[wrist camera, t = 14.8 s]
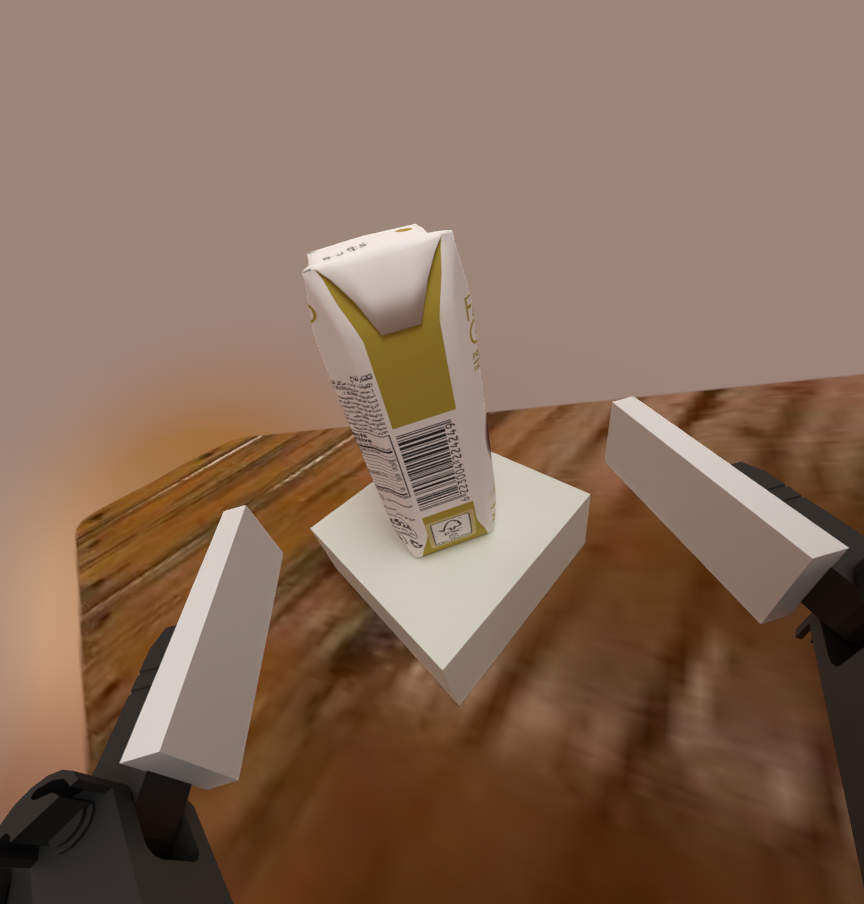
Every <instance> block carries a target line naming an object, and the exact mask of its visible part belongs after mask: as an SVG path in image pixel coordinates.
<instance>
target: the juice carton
mask: <svg viewBox="0 0 864 904" xmlns="http://www.w3.org/2000/svg"><path fill="white" fill-rule="evenodd" d="M307 256H308V262H309V263H308V267H306V268H305V269H304V270H303V271H302V274H303V278H304V282H305V288H306V294H307V301H308V307H309V313H310V320H311V326H312V331H313V334H314V338H315V342H316V345H317V348H318V350H319V352H320V355H321V357H322V360H323V362H324V364H325V367H326V369H327V372H328V374H329V377H330V379H331V381H332V384H333V386H334V388H335V391H336V393H337V396H338V398H339V401H340V403H341V405H342V408H343V410H344V412H345V415H346V417H347V420H348V422H349V424H350V427H351V429H352V431H353V434H354V436H355V439H356V441H357V443H358V446H359V448H360V450H361V453H362V455H363V458H364V460H365V462H366V465H367V467H368V469H369V472H370V474H371V477H372V479H373V481H374V484H375V486H376V488H377V491H378V493H379V496H380V498H381V500H382V503H383V505H384V507H385V510H386V512H387V514H388V517H389V519H390V521H391V524H392V526H393V528H394V530H395V531H396V533H397V534H398V536H399V537H400V538H401V540H402V541H403V542H404V544H405V545H406V546H407V548H408V549H409V550H410V552H411V553H412V554H413V555H414V556H415V557H416V558H418V557H422V556H425V555H428V554H431V553H433V552H436V551H439V550H442V549H445V548H447V547H450V546H453V545H456V544H459V543H461V542H464V541H467V540H470V539H473V538H475V537H478V536H481V535H484V534H487V533H489V532H491V531H493V530H494V526H495V510H496V489H495V481H494V473H493V465H492V457H491V449H490V441H489V433H488V425H487V417H486V410H485V402H484V394H483V386H482V378H481V370H480V363H479V354H478V347H477V339H476V331H475V323H474V316H473V308H472V301H471V295H470V292H469V287H468V283H467V279H466V276H465V273H464V270H463V266H462V263H461V260H460V256H459V254H458V250H457V247H456V244H455V240H454V236H453V231H452V230H444V231H436V232H431V233H427V232H426V231H425V230H424V229H423V228H422V227H420V226H418V225H417V224H413V225H408V226H404V227H400V228H395V229H391V230H387V231H383V232H378V233H374V234H369V235H365V236H361V237H358V238H354V239H352V240H348V241H345V242H342V243H338V244H336V245H332V246H329V247H326V248H322V249H319V250H316V251H312V252H309V253H307Z"/></svg>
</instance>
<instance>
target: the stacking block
mask: <svg viewBox="0 0 864 904" xmlns="http://www.w3.org/2000/svg"><path fill="white" fill-rule="evenodd" d="M491 457H492V465H493V473H494V481H495V489H496V510H495V526H494V530H493V531H491V532H489V533H487V534H484V535H481V536H478V537H475V538H473V539H470V540H467V541H464V542H461V543H459V544H456V545H453V546H450V547H447V548H445V549H442V550H439V551H436V552H433V553H431V554H428V555H425V556H422V557H418V558H416V557H415V556H414V555H413V554H412V553H411V552H410V550H409V549H408V548H407V546H406V545H405V544H404V542H403V541H402V540H401V538H400V537H399V536H398V534H397V533H396V531H395V530H394V528H393V526H392V524H391V521H390V519H389V517H388V514H387V512H386V510H385V507H384V505H383V503H382V500H381V498H380V496H379V493H378V491H377V488H376V486H375V484H374V482H372V483H371V484H370V485H368V486H367V487H365V488H364V489H363V490H361V491H360V492H359V493H357V494H356V495H355V496H353V497H352V498H351V499H349V500H348V501H347V502H345V503H344V504H342V505H341V506H340V507H338V508H337V509H336V510H334V511H333V512H332V513H330V514H329V515H328V516H326V517H325V518H324V519H322V520H321V521H319V522H318V523H317V524H315V525H314V526H313V527H311V528H310V529H311V530H312V532H313V533H314V535H315V536H316V538H317V539H318V541H319V543H320V544H321V546H322V547H323V549H324V550H325V552H326V553H327V555H328V556H329V558H330V560H331V561H332V563H333V564H334V566H335V567H336V569H337V570H338V571H339V572H340V573H341V574H342V575H343V577H344V578H345V579H346V580H347V581H348V582H349V583H350V584H351V586H352V587H353V588H354V589H355V590H356V591H357V592H358V593H359V595H360V596H361V597H362V598H363V599H364V600H365V601H366V602H367V603H368V605H369V606H370V607H371V608H372V609H373V610H374V611H375V612H376V614H377V615H378V616H379V617H380V618H381V619H382V620H383V621H384V623H385V624H386V625H387V626H388V627H389V628H390V629H391V630H392V631H393V633H394V634H395V635H396V636H397V637H398V638H399V639H400V640H401V642H402V643H403V644H404V645H405V646H406V647H407V648H408V649H409V651H410V652H411V653H412V654H413V655H414V656H415V657H416V658H417V660H418V661H419V662H420V663H421V664H422V665H423V666H424V667H425V668H426V670H427V671H428V672H429V673H430V674H431V675H432V676H433V677H434V679H435V680H436V681H437V682H438V683H439V684H440V685H441V686H442V688H443V689H444V690H445V691H446V692H447V693H448V694H449V695H450V696H451V698H452V699H453V700H454V701H455V702H456V703H457V704H458V705H459V707H460V705H461V704H462V703H463V701H464V700H465V699H466V697H467V696H468V695H469V694H470V692H471V691H472V690H473V688H474V687H475V686H476V684H477V683H478V682H479V681H480V679H481V678H482V677H483V675H484V674H485V673H486V671H487V670H488V669H489V668H490V666H491V665H492V664H493V662H494V661H495V660H496V658H497V657H498V656H499V655H500V653H501V652H502V651H503V649H504V648H505V647H506V645H507V644H508V643H509V642H510V640H511V639H512V638H513V636H514V635H515V634H516V632H517V631H518V630H519V629H520V627H521V626H522V625H523V623H524V622H525V621H526V619H527V618H528V617H529V616H530V614H531V613H532V612H533V610H534V609H535V608H536V606H537V605H538V604H539V602H540V601H541V600H542V599H543V597H544V596H545V595H546V593H547V592H548V591H549V589H550V588H551V587H552V586H553V584H554V583H555V582H556V580H557V579H558V578H559V576H560V575H561V574H562V573H563V571H564V570H565V569H566V567H567V566H568V565H569V563H570V562H571V561H572V560H573V558H574V557H575V556H576V554H577V553H578V552H579V550H580V549H581V548H582V547H583V545H584V544H585V540H586V531H587V521H588V512H589V503H590V494H589V493H586V492H584V491H582V490H579V489H577V488H575V487H572V486H570V485H568V484H565V483H563V482H561V481H558V480H556V479H554V478H551V477H549V476H547V475H544V474H542V473H539V472H537V471H535V470H532V469H530V468H528V467H525V466H523V465H521V464H518V463H516V462H514V461H511V460H509V459H507V458H504V457H502V456H500V455H497V454H495V453H493V452H491Z"/></svg>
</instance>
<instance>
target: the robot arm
mask: <svg viewBox="0 0 864 904" xmlns="http://www.w3.org/2000/svg"><path fill="white" fill-rule="evenodd" d="M605 463H606V464H607V465H608V466H609V467H610V468H611V469H612V470H613V471H614V472H615V473H616V474H617V475H618V476H619V477H620V478H621V479H622V480H623V481H624V482H625V483H626V484H627V486H628V487H629V488H630V489H631V490H632V491H633V492H634V493H635V494H636V495H637V496H638V497H639V498H640V499H641V500H642V501H643V502H644V503H645V504H646V505H647V506H648V507H649V508H650V509H651V511H652V512H653V513H654V514H655V515H656V516H657V517H658V518H659V519H660V520H661V521H662V522H663V523H664V524H665V525H666V526H667V527H668V528H669V529H670V530H671V531H672V532H673V533H674V535H675V536H676V537H677V538H678V539H679V540H680V541H681V542H682V543H683V544H684V545H685V546H686V547H687V548H688V549H689V550H690V551H691V552H692V553H693V554H694V555H695V556H696V557H697V558H698V560H699V561H700V562H701V563H702V564H703V565H704V566H705V567H706V568H707V569H708V570H709V571H710V572H711V573H712V574H713V575H714V576H715V577H716V578H717V579H718V580H719V581H720V582H721V584H722V585H723V586H724V587H725V588H726V589H727V590H728V591H729V592H730V593H731V594H732V595H733V596H734V597H735V598H736V599H737V600H738V601H739V602H740V603H741V604H742V605H743V606H744V607H745V609H746V610H747V611H748V612H749V613H750V614H751V615H752V616H753V617H754V618H755V619H756V620H757V621H758V622H759V623H760V624H763V623H766V622H770V621H773V620H777V619H780V618H783V617H787V616H790V615H791V614H792V613H793V611H794V610H795V609H796V608H797V607H798V606H799V605H800V603H802V604H804V605H805V606H806V607H807V608H808V609H809V610H810V611H811V612H812V613H811V614H810V615H809V616H808V617H807V618H806V619H805V621H804V622H803V623H802V624H801V625H800V626H799V627H798V628H797V629H796V635H795V637H796V638H799V639H802V638H803V637H804V636H805V635H806V634H807V633H808V632H809V631H810V630H811V634H812V639H811V642H812V643H814V648H815V653H816V658H817V663H818V668H819V672H820V677H821V682H822V687H823V692H824V697H825V701H826V706H827V711H828V716H829V721H830V726H831V730H832V735H833V740H834V745H835V750H836V754H837V759H838V764H839V769H840V774H841V779H842V783H843V788H844V793H845V798H846V803H847V808H848V812H849V817H850V822H851V827H852V832H853V837H854V841H855V846H856V851H857V856H858V861H859V866H860V870H861V875H862V880H863V885H864V536H863V535H861V534H859V533H858V532H856V531H855V530H853V529H852V528H850V527H849V526H847V525H846V524H844V523H843V522H841V521H840V520H838V519H837V518H835V517H834V516H832V515H831V514H829V513H828V512H826V511H825V510H823V509H822V508H820V507H819V506H817V505H816V504H814V503H812V502H811V501H809V500H808V499H806V498H802V497H801V495H800V494H799V493H797V492H796V491H794V490H793V489H791V488H790V487H785V484H784V483H782V482H781V481H779V480H778V479H776V478H775V477H773V476H772V475H770V474H769V473H767V472H765V471H763V470H761V469H758V468H756V467H753V466H751V465H748V464H745V463H743V462H738V463H735V464H731V465H730V464H729V463H727V462H726V461H725V460H723V459H722V458H720V457H719V456H718V455H716V454H715V453H713V452H712V451H710V450H709V449H708V448H706V447H705V446H703V445H702V444H700V443H699V442H698V441H696V440H695V439H693V438H692V437H690V436H689V435H688V434H686V433H685V432H683V431H682V430H681V429H679V428H678V427H676V426H675V425H673V424H672V423H671V422H669V421H668V420H666V419H665V418H663V417H662V416H661V415H659V414H658V413H656V412H655V411H653V410H652V409H651V408H649V407H648V406H646V405H645V404H644V403H642V402H641V401H639V400H638V399H636V398H635V397H634V396H632V397H629V398H625V399H622V400H618V401H615V402H612V409H611V416H610V424H609V431H608V439H607V447H606V454H605ZM282 557H283V552H282V551H281V549H280V548H279V547H278V546H277V544H276V543H275V542H274V541H273V539H272V538H271V537H270V535H269V534H268V533H267V532H266V530H265V529H264V528H263V526H262V525H261V524H260V523H259V521H258V520H257V519H256V517H255V516H254V515H253V514H252V512H251V511H250V510H249V508H248V507H247V506H246V505H244V506H241V507H237V508H234V509H230V510H226V511H224V512H223V515H222V517H221V520H220V522H219V524H218V527H217V529H216V532H215V534H214V536H213V539H212V541H211V544H210V546H209V549H208V551H207V553H206V556H205V558H204V561H203V563H202V565H201V568H200V570H199V573H198V575H197V577H196V580H195V582H194V585H193V587H192V590H191V592H190V594H189V597H188V599H187V602H186V604H185V606H184V609H183V611H182V614H181V616H180V619H179V621H178V623H177V625H175V626H171V627H168V628H165V630H164V631H163V632H162V634H161V635H160V636H159V638H158V639H157V640H156V642H155V643H154V644H153V646H152V647H151V648H150V650H149V652H148V654H147V657H146V659H145V661H144V663H143V665H142V668H141V670H140V676H138V677H137V679H136V681H135V683H134V685H133V687H132V690H131V692H132V694H131V695H130V696H128V699H127V701H126V703H125V705H124V707H123V710H122V712H121V714H120V716H119V718H118V721H117V723H116V725H115V727H114V730H113V732H112V734H111V736H110V738H109V741H108V743H107V745H106V747H105V749H104V752H103V754H102V756H101V758H100V760H99V763H98V765H97V767H96V769H95V771H94V773H93V775H92V776H91V775H87V774H83V773H79V772H75V771H69V770H61V771H58V772H56V773H54V774H51V775H48V776H47V777H45V778H44V779H43V780H41V781H40V782H39V783H38V784H36V785H35V786H33V787H32V788H31V789H30V790H29V791H28V792H27V793H26V794H25V795H24V796H23V797H22V798H21V799H20V800H19V801H18V802H17V803H16V804H15V806H14V807H13V808H12V809H11V811H10V812H9V814H8V815H7V816H6V818H5V819H4V821H3V822H2V823H1V825H0V904H233V902H232V899H231V897H230V894H229V892H228V889H227V887H226V884H225V882H224V880H223V877H222V875H221V872H220V870H219V867H218V865H217V862H216V860H215V857H214V855H213V852H212V850H211V847H210V845H209V843H208V840H207V838H206V835H205V833H204V830H203V828H202V825H201V823H200V820H199V818H198V815H197V813H196V810H195V808H194V806H193V805H192V804H191V803H190V802H189V801H188V800H187V799H188V796H189V792H190V788H191V785H193V786H196V787H199V788H203V789H206V790H208V789H211V788H214V787H218V786H221V785H224V784H228V783H231V782H234V781H238V780H239V775H240V770H241V765H242V760H243V754H244V749H245V744H246V739H247V734H248V729H249V724H250V719H251V714H252V709H253V704H254V699H255V694H256V689H257V684H258V678H259V673H260V668H261V663H262V658H263V653H264V648H265V643H266V638H267V633H268V628H269V623H270V618H271V613H272V608H273V603H274V597H275V592H276V587H277V582H278V577H279V572H280V567H281V562H282Z"/></svg>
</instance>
